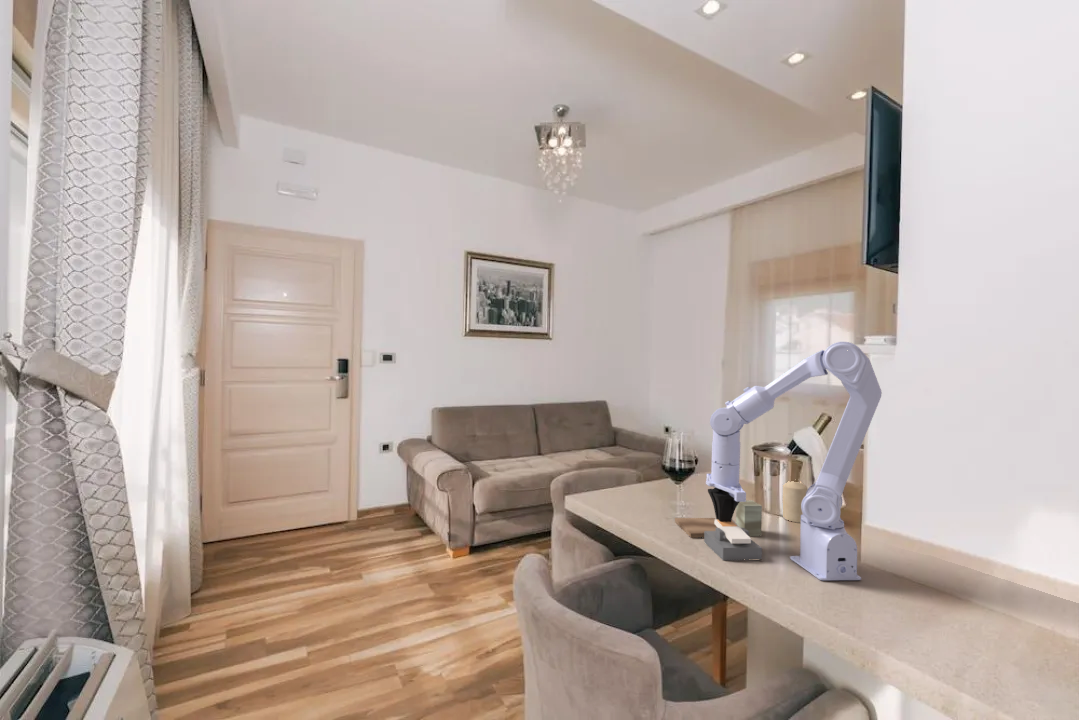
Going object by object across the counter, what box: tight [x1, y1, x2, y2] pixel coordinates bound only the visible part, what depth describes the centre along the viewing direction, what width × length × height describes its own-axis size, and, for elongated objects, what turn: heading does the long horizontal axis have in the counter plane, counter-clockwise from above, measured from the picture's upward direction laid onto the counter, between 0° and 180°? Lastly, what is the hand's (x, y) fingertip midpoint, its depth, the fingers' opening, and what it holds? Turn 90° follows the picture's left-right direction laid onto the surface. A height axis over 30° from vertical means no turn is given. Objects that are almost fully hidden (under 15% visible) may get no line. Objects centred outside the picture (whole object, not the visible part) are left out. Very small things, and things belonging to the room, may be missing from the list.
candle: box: [782, 480, 808, 524], centre depth 116 cm, size 6×6×10 cm
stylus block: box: [735, 499, 763, 537], centre depth 106 cm, size 4×4×7 cm
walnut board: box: [674, 517, 718, 539], centre depth 107 cm, size 10×10×1 cm
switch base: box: [703, 528, 763, 561], centre depth 95 cm, size 9×8×4 cm
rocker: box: [714, 518, 752, 544], centre depth 95 cm, size 8×4×1 cm, turn 3°
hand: (723, 524), depth 99 cm, fingers closed, pressing on rocker
